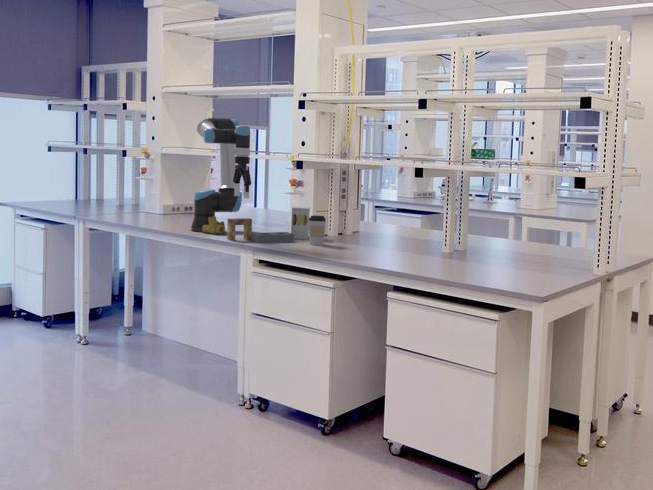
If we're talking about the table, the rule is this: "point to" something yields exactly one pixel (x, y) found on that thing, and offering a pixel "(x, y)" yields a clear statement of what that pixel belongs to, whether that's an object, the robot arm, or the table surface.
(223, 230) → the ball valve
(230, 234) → the clip
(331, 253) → the table surface
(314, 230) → the coffee cup
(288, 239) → the grey tray
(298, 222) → the supplement box
